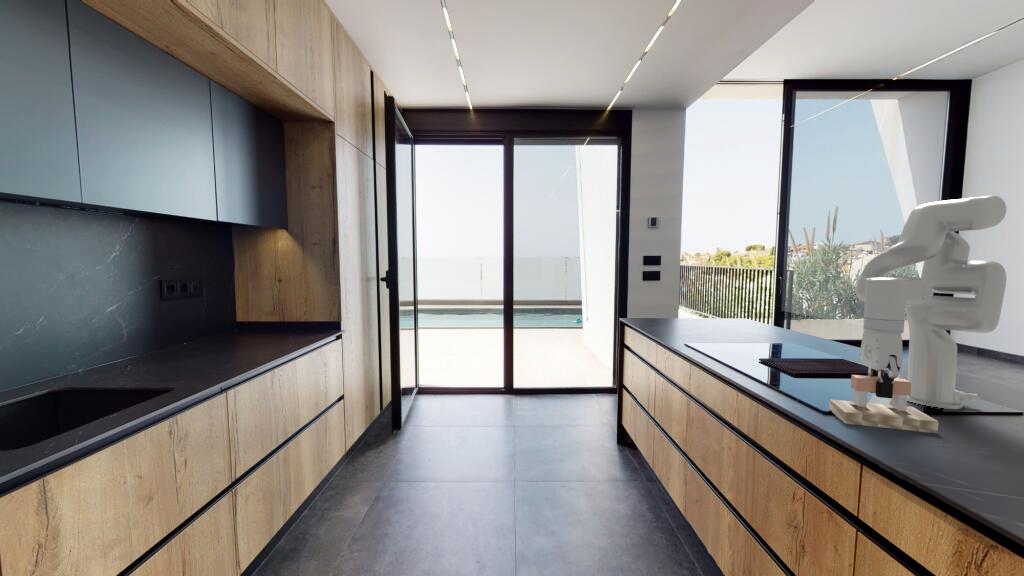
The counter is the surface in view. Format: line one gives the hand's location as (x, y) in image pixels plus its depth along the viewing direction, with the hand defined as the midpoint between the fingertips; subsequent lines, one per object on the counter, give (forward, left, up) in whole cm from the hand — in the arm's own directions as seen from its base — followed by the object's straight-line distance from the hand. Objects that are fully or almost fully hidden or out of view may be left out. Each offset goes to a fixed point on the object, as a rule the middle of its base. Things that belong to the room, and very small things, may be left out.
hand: (879, 394), depth 100 cm
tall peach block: (0, 0, -3) cm, 3 cm away
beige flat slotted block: (0, 0, -7) cm, 7 cm away
